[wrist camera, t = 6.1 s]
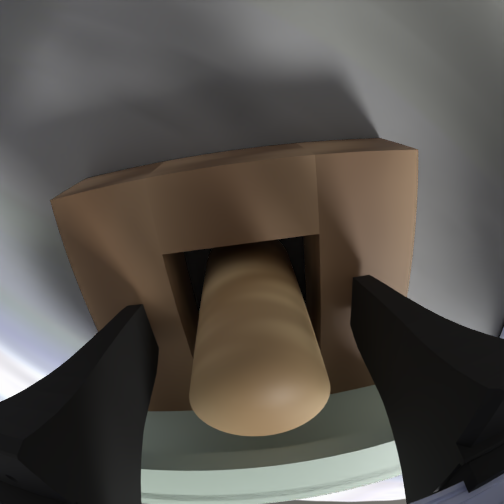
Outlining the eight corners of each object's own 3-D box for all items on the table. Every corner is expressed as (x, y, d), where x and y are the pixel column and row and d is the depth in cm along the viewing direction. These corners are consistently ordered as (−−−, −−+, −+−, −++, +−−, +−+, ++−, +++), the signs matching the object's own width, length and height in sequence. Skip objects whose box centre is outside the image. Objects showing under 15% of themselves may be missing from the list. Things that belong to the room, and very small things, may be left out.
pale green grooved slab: (374, 305, 15) (441, 424, 8) (367, 360, 17) (413, 470, 10) (136, 335, 15) (97, 464, 8) (158, 386, 17) (138, 502, 10)
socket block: (380, 137, 12) (418, 149, 9) (367, 360, 17) (384, 399, 14) (85, 178, 12) (50, 200, 9) (158, 386, 17) (150, 427, 14)
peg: (287, 224, 13) (334, 340, 7) (292, 298, 15) (326, 426, 8) (199, 235, 13) (171, 358, 7) (214, 308, 15) (206, 440, 8)
